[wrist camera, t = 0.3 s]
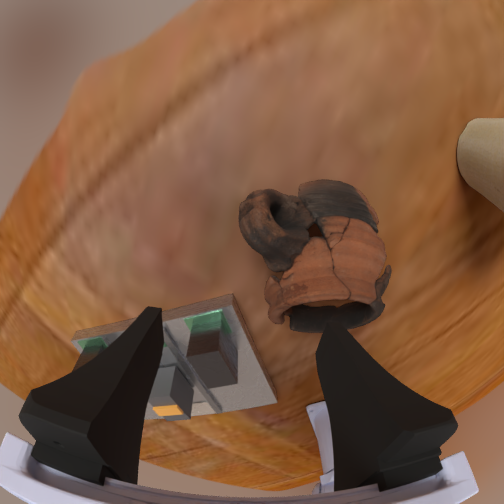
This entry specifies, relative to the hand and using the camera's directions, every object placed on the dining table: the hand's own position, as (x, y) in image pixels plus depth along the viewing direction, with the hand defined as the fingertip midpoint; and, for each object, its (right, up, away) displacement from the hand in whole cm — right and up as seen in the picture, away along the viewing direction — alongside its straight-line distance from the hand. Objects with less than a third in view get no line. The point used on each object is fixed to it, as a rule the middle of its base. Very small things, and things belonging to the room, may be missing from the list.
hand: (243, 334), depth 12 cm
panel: (-7, -8, +15) cm, 18 cm away
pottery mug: (+4, +5, +9) cm, 11 cm away
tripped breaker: (-7, -9, +13) cm, 18 cm away
